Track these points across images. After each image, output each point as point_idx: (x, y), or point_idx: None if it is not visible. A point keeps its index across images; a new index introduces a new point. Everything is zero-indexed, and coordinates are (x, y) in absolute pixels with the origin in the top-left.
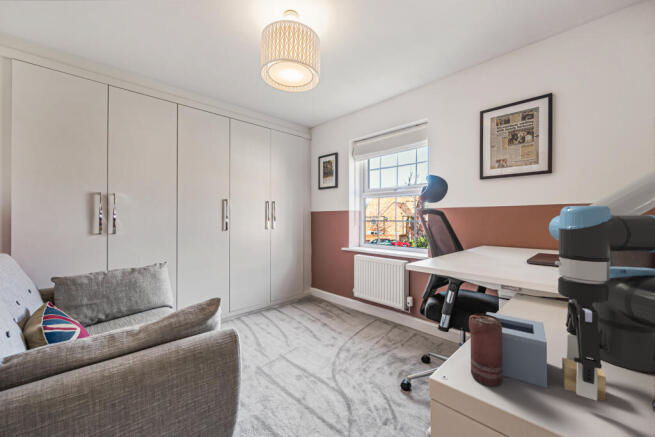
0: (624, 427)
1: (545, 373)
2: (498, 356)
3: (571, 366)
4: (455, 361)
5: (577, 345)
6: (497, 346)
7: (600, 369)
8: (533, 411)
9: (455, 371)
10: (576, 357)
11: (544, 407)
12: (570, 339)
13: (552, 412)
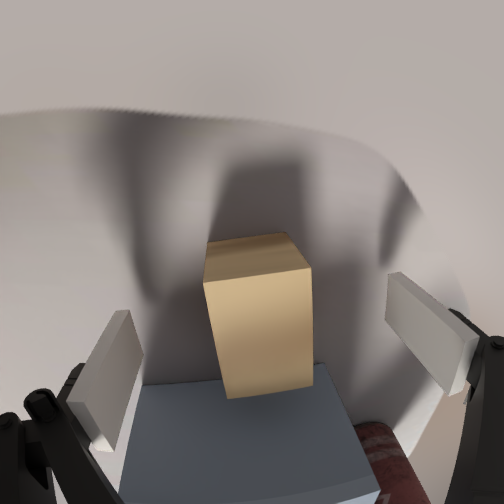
0: (402, 200)
1: (338, 397)
2: (410, 478)
3: (297, 370)
4: None
5: (111, 386)
6: (424, 499)
7: (238, 284)
8: None
9: None
10: (127, 347)
11: None
12: (113, 424)
13: None
